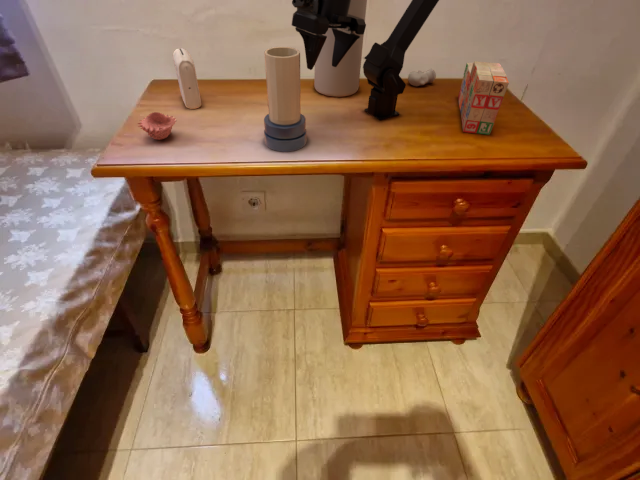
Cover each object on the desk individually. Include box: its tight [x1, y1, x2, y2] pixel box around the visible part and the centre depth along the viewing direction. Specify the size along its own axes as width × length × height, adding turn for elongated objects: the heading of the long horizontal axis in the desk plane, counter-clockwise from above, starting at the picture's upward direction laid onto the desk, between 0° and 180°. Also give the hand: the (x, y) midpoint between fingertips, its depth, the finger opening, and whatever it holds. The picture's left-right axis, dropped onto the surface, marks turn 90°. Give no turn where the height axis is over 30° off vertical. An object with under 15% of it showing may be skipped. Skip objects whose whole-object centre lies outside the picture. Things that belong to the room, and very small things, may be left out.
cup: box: [263, 46, 302, 125], centre depth 75 cm, size 7×7×13 cm
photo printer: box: [172, 47, 202, 110], centre depth 93 cm, size 10×4×12 cm, turn 23°
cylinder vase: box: [313, 0, 368, 98], centre depth 98 cm, size 12×12×25 cm
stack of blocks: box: [457, 61, 510, 136], centre depth 92 cm, size 21×6×12 cm, turn 168°
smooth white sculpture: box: [407, 68, 437, 87], centre depth 109 cm, size 4×8×5 cm
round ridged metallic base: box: [263, 113, 308, 153], centre depth 81 cm, size 9×9×5 cm
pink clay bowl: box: [137, 111, 177, 141], centre depth 81 cm, size 8×8×6 cm
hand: (322, 67), depth 81 cm, fingers open, 9 cm apart
